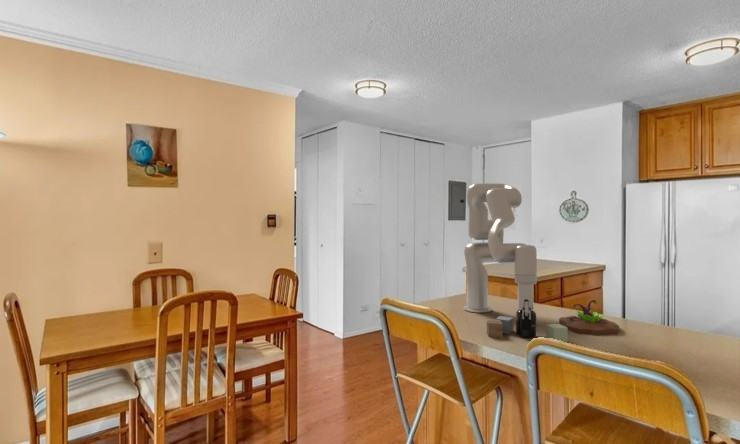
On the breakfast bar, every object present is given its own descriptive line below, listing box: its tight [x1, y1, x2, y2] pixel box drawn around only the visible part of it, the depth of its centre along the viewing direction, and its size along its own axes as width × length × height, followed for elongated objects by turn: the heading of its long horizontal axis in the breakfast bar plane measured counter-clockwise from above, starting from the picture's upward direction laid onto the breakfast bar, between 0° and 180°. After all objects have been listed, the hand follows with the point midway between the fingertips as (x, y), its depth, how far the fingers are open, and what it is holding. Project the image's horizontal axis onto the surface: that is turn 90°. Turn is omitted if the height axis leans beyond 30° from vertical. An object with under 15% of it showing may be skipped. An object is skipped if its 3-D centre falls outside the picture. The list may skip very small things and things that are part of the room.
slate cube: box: [495, 315, 514, 335], centre depth 149 cm, size 5×5×5 cm
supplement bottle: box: [515, 303, 537, 339], centre depth 143 cm, size 7×7×12 cm
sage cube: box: [545, 323, 569, 343], centre depth 138 cm, size 5×5×5 cm
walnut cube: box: [486, 319, 504, 338], centre depth 145 cm, size 5×5×5 cm
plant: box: [558, 299, 620, 336], centre depth 152 cm, size 20×20×11 cm
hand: (526, 326), depth 143 cm, fingers closed on supplement bottle, 6 cm apart
